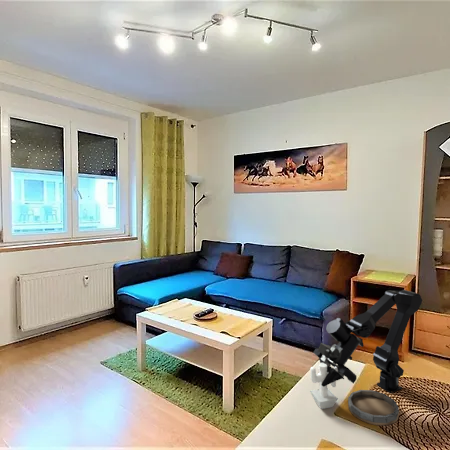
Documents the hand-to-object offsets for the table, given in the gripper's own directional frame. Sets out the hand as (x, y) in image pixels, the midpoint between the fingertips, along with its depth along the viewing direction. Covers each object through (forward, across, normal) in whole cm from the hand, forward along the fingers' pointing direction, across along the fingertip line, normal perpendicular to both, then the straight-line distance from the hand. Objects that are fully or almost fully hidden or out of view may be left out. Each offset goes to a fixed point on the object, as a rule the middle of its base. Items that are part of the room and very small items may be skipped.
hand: (320, 383), depth 118 cm
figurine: (+5, 0, +7) cm, 8 cm away
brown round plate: (-5, +9, +16) cm, 19 cm away
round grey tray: (-5, +9, +16) cm, 19 cm away
